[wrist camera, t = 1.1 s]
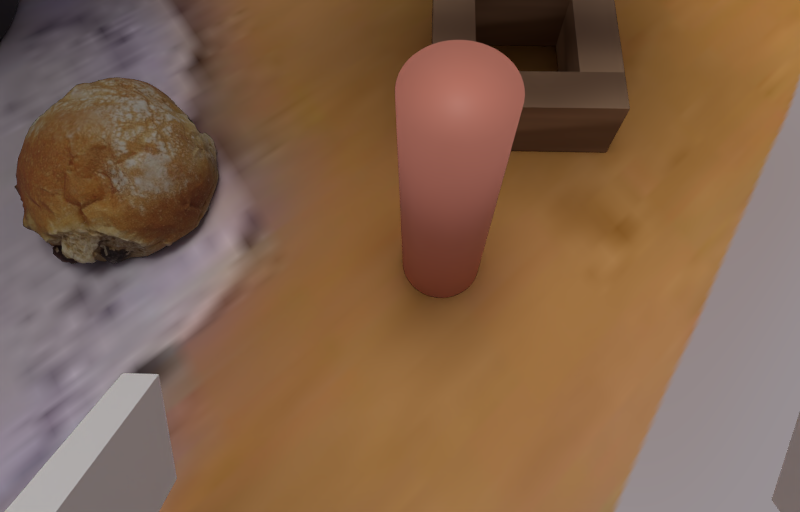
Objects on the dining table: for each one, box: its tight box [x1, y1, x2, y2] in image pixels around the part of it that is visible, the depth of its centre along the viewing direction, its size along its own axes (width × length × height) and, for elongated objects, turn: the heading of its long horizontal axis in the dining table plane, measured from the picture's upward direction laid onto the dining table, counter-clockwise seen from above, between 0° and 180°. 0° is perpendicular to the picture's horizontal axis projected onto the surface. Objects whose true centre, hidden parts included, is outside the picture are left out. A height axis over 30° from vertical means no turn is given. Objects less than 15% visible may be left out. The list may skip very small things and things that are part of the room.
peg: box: [395, 40, 525, 298], centre depth 25 cm, size 4×4×14 cm
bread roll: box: [15, 77, 219, 264], centre depth 31 cm, size 10×10×8 cm
